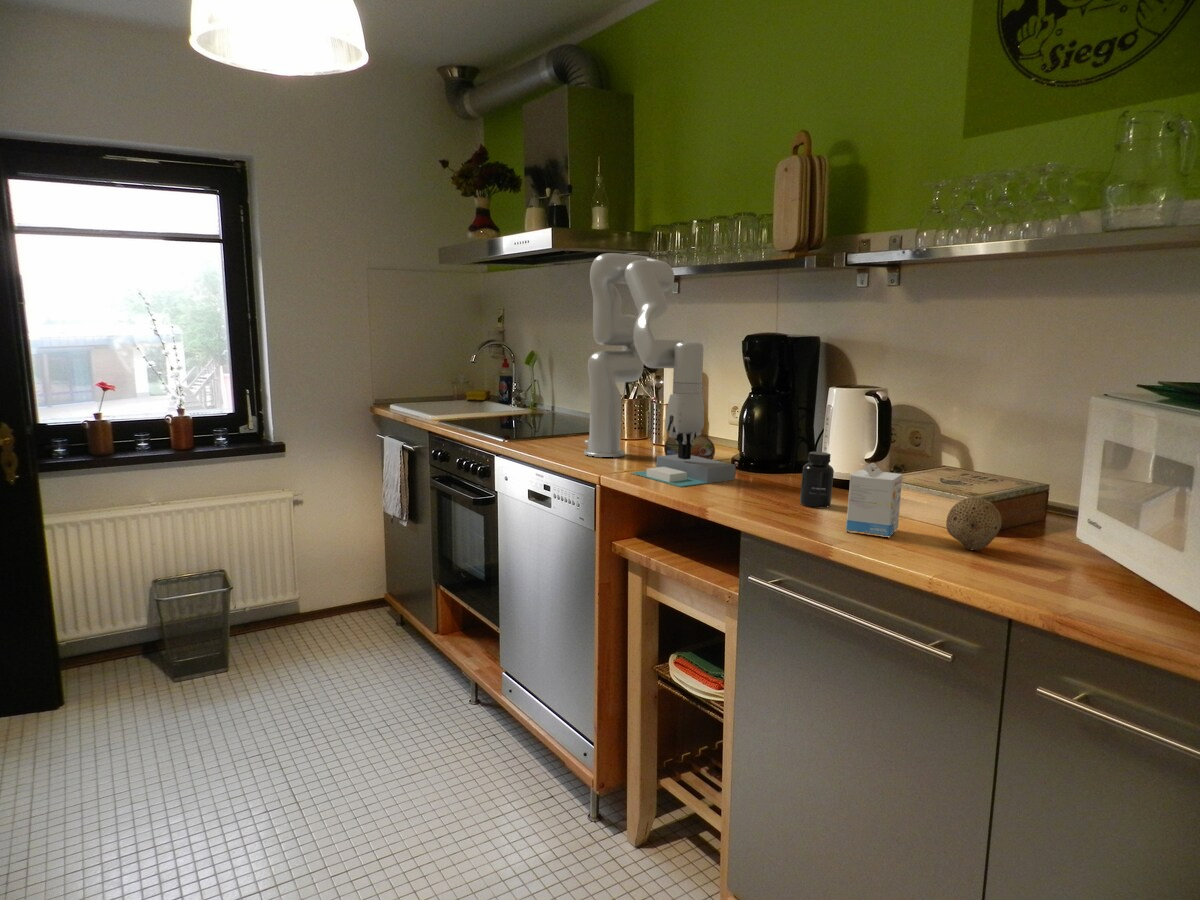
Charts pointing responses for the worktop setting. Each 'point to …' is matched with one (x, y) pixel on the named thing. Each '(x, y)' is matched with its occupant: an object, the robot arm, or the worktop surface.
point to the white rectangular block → (666, 474)
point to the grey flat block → (699, 468)
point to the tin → (692, 447)
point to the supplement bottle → (817, 480)
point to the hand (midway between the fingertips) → (684, 458)
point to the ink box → (874, 501)
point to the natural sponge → (974, 522)
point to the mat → (677, 483)
